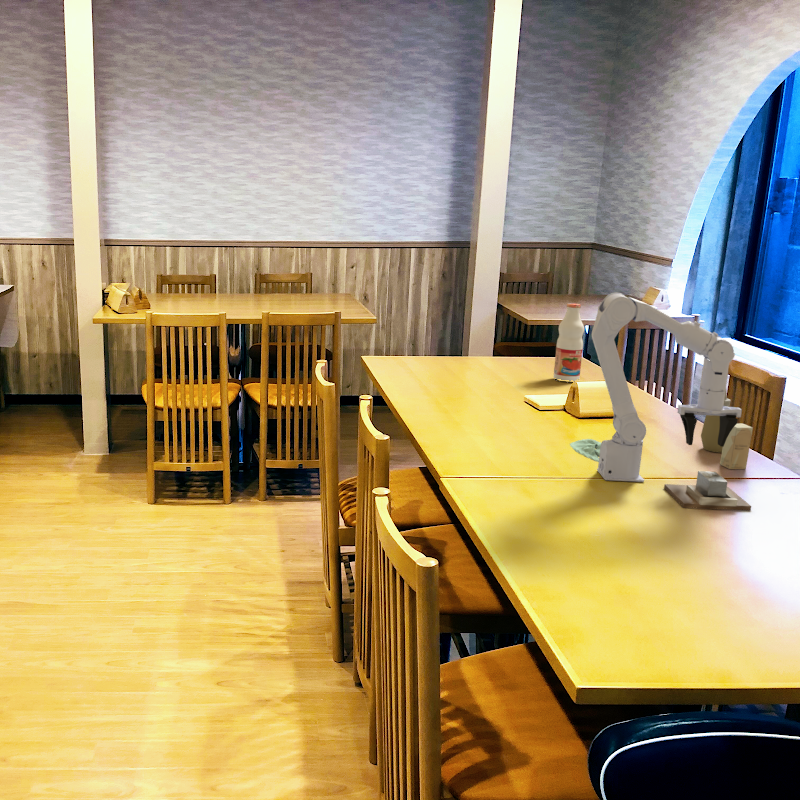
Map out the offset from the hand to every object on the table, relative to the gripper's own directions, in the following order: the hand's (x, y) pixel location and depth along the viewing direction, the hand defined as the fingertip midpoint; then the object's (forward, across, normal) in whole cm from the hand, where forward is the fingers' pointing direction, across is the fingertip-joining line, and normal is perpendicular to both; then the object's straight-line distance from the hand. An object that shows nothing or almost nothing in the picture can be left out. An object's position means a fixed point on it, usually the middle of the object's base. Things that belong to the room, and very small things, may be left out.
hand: (704, 444), depth 208 cm
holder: (+9, -3, -12) cm, 16 cm away
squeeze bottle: (+10, +15, +29) cm, 34 cm away
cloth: (+10, -17, +22) cm, 30 cm away
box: (+10, +14, +14) cm, 22 cm away
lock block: (+8, -3, -14) cm, 16 cm away
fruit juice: (+10, -7, +114) cm, 115 cm away
